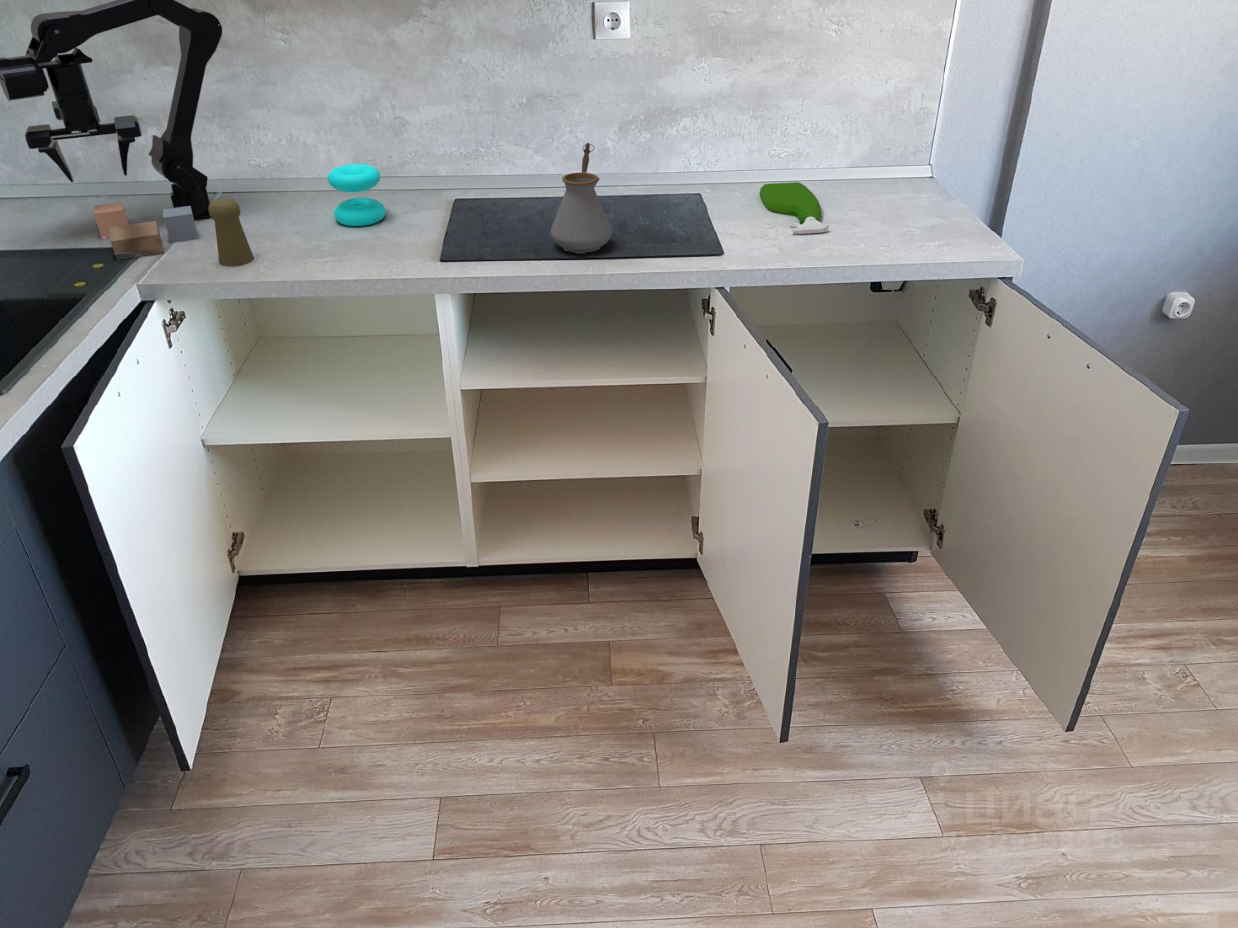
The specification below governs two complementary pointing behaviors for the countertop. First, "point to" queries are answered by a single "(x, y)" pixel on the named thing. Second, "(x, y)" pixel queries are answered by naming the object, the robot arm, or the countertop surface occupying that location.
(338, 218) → the donuts
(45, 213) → the countertop surface
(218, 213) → the olive pawn
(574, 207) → the coffee pot
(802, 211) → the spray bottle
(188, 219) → the slate grey cube
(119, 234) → the walnut base block
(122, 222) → the terracotta cube
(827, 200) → the countertop surface
